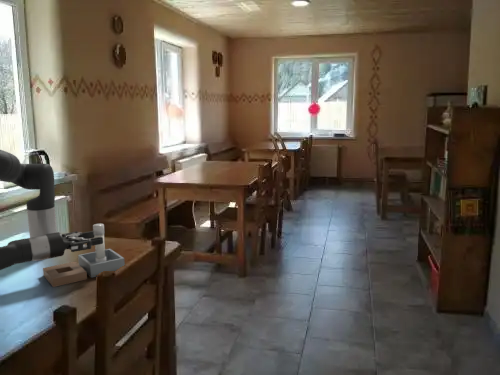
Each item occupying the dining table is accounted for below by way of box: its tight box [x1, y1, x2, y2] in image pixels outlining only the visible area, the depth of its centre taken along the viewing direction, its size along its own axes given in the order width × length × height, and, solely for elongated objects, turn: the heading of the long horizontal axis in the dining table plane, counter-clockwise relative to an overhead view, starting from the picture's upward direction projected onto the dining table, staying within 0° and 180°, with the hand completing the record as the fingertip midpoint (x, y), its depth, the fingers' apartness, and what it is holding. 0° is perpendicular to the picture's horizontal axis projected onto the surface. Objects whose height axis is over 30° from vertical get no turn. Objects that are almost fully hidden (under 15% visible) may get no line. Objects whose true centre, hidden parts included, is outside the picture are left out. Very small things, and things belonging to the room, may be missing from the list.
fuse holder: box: [42, 261, 88, 288], centre depth 145 cm, size 12×10×2 cm
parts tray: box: [77, 248, 126, 278], centre depth 153 cm, size 13×11×4 cm
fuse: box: [92, 223, 106, 263], centre depth 152 cm, size 3×3×14 cm
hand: (98, 237), depth 151 cm, fingers open, 8 cm apart
